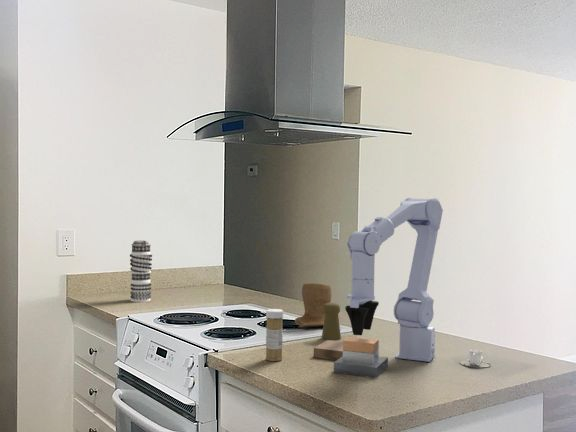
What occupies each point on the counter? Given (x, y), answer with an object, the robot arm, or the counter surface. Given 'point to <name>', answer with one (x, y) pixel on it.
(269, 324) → the sprinkles bottle
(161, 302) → the counter surface
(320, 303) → the tan boot
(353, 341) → the block
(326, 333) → the olive tapered column
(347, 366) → the stand
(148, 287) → the decorative candle
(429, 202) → the robot arm
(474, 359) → the teacup and saucer
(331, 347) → the stand
